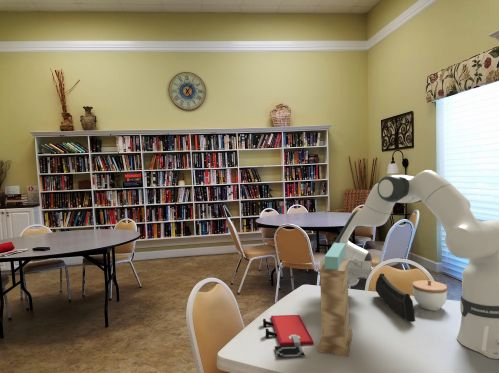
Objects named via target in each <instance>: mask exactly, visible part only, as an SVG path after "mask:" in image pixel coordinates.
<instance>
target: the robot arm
mask: <svg viewBox="0 0 499 373" xmlns="http://www.w3.org/2000/svg"><path fill="white" fill-rule="evenodd" d="M420 202H422V203H423V204H424V205H425V206H426V207H427V209H428V210H430V211H431V213H432V214H433V215H434V216H435V217H436V219H438V221H439V222H440V223H441V226H442V228H443V229H444V231H445V238H444V242H445V243H444V244H445V247H446V248H447V250H448V252H449V253H450V254H451V255H453V257H454V256H455V258H456V257H457V258H460V259H465V260H467V259H468V260H469V261H468V263H467V265H466V267H464V269H463V271H462V274H461V285H462V286H461V290H462V292H461V294H462V295H461V296H460V300H459V303H460V308H459V309H460V314H461V321H460V326H459V331H458V333H457V336H456V340H457V341H458V343H460V344H461V345H463V346H465V347H466V348H467V349H470V350H472V351H475V352H477V353H480V354H481V355H483V356H485V357H486V358H490V359H496V360H499V220H495V219H491V220H484V221H483V220H479V219H478V218H476V217H475V215H474V214H473V213H472V212H473V211H471V202H470V200H469V199H468V198H467V197H466V196H465V195H464V194H463V193H461V192H460V190H458V188H456V187H455V186H454V185H453V184H452V183H451V182H449V181H448V180H447V179H446V178H444V177H443V176H442V175H440V174H439V173H437V172H435V170H432V169H426V170H423V171H419V173H416V175H414V176H413V175H407V174H389V175H386V176H384V177H382V178H380V180H379V181H378V182H377V183H375V185H373V186H372V188H371V190H370V192H369V194H368V195H367V197H366V200H365V203H364V205H363V206H362V208H361V209H357V210H355V211H354V212H353V213H351V215H350V216H349V218H348V220H347V221H346V223H345V224H344V226H343V227H342V229H341V231H340V233H339V235H338V236H337V237H336V239H335V241H334V242H333V243H332V245H333V244H334V243H345V244H346V255H345V257H344V259H343V260H349V265H348V287H354V286H356V285H358V283H359V281H360V280H364V279H369V275H371V273H372V261H373V259H372V254H371V252H370V251H369V250H366V249H365V248H362V247H361V246H359V245H357V244H354V243H352V242H351V241H350V240H349V238H350V237H351V235H352V233H353V232H354V230H355V229H356V227H367V228H368V227H370V228H375V227H376V228H377V227H380V226H381V227H382V226H383V225H385V224H386V223H387V221H388V220H389V219H390V216H391V215H392V212H393V209H394V206H395V204H396V203H400V204H412V203H420ZM324 260H325V257H324V258H321V259H320V262H319V267H320V266H321V264H322V263H323V261H324Z"/></svg>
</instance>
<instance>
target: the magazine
mask: <svg viewBox="0 0 499 373" xmlns="http://www.w3.org/2000/svg"><path fill="white" fill-rule="evenodd" d="M375 291H376V293H377V295H378V296H379V298H380V299H381V300H382V301H383V303H384V304H385V305H386V307H388V309H389V310H391V311H392V312H393V313H394V314H395V315H396V316H398V317H400V318H402V319H403V320H404V321H406V322H408V323H414V322H416V316H415V309H414V308H415V307H414V303H413V300H412V298H411V295H410V293H404V292H403V291H401V290H399V289H398V288H396V287H395V286H394V285H393V284H392V283H391V282H390V281H389V279H387V276H385V274H384V273H379V274H378V277H377V279H376V281H375Z"/></svg>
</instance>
